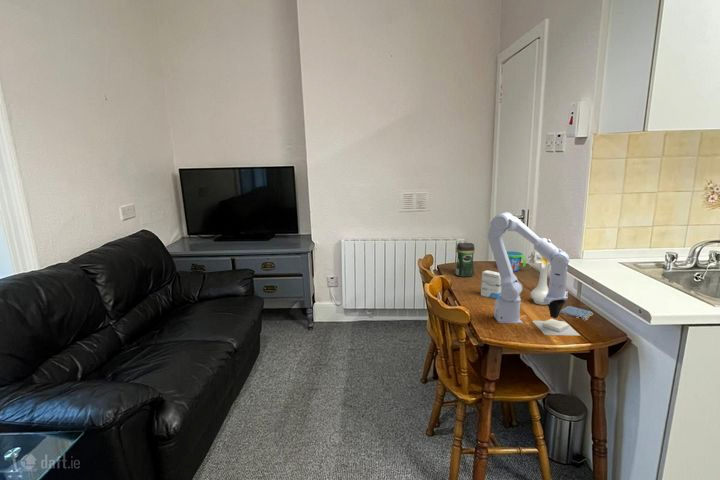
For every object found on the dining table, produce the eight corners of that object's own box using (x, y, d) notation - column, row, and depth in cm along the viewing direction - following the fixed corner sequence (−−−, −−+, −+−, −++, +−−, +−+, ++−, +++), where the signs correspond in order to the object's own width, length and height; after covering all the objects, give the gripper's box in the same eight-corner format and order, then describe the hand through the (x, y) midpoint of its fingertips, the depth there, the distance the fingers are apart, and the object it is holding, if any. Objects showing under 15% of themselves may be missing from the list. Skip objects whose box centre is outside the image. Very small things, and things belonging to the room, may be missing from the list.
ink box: (501, 296, 191) (503, 273, 188) (497, 299, 187) (499, 275, 185) (485, 292, 196) (486, 269, 194) (480, 295, 193) (481, 271, 190)
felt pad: (544, 335, 150) (544, 334, 150) (531, 321, 163) (532, 320, 162) (580, 336, 149) (580, 335, 149) (564, 322, 162) (564, 321, 162)
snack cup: (494, 268, 238) (496, 251, 236) (506, 265, 244) (507, 249, 242) (517, 274, 225) (518, 257, 223) (529, 271, 231) (530, 254, 229)
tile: (559, 328, 151) (568, 324, 156) (542, 322, 157) (551, 318, 161) (559, 332, 152) (568, 327, 156) (541, 326, 157) (551, 321, 161)
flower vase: (544, 295, 193) (549, 244, 188) (563, 309, 175) (569, 254, 170) (517, 295, 193) (521, 244, 188) (533, 309, 175) (539, 254, 170)
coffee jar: (470, 273, 228) (472, 241, 224) (475, 277, 221) (477, 244, 217) (453, 273, 228) (455, 241, 224) (457, 277, 220) (459, 244, 216)
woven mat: (558, 315, 170) (558, 311, 170) (567, 308, 177) (568, 304, 177) (585, 322, 163) (585, 318, 162) (593, 315, 170) (594, 311, 169)
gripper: (558, 290, 144) (554, 325, 147) (577, 282, 153) (573, 315, 156) (539, 285, 150) (536, 319, 153) (559, 278, 158) (555, 310, 161)
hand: (553, 317), depth 155 cm, fingers closed
